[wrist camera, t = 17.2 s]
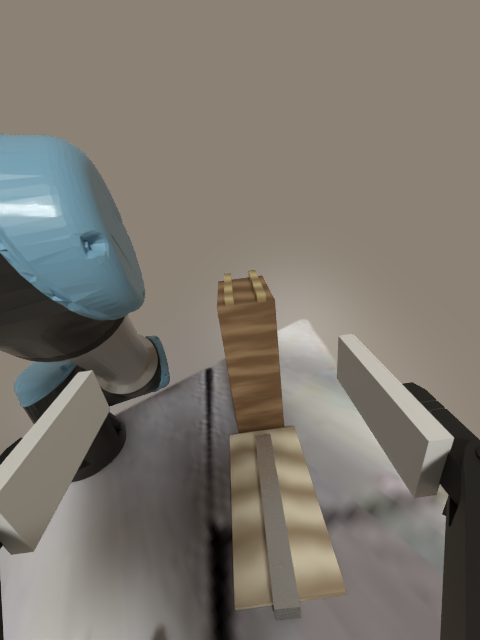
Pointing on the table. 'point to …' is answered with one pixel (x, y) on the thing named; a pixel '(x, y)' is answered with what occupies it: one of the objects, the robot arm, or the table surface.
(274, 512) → the block
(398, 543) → the table surface
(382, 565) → the table surface
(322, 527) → the board
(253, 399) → the wooden rectangular column
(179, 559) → the table surface
